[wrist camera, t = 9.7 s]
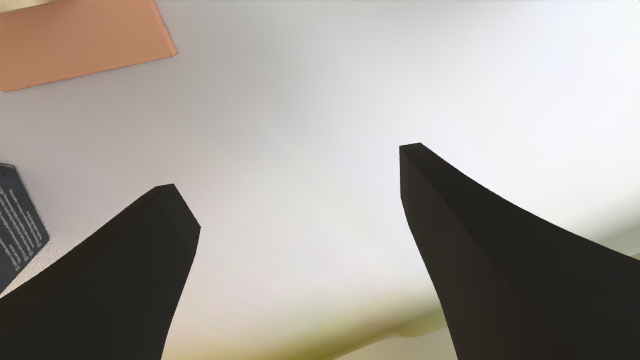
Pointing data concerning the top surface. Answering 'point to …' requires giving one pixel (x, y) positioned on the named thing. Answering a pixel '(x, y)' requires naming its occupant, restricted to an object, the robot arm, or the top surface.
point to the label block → (21, 4)
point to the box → (17, 227)
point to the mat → (79, 40)
